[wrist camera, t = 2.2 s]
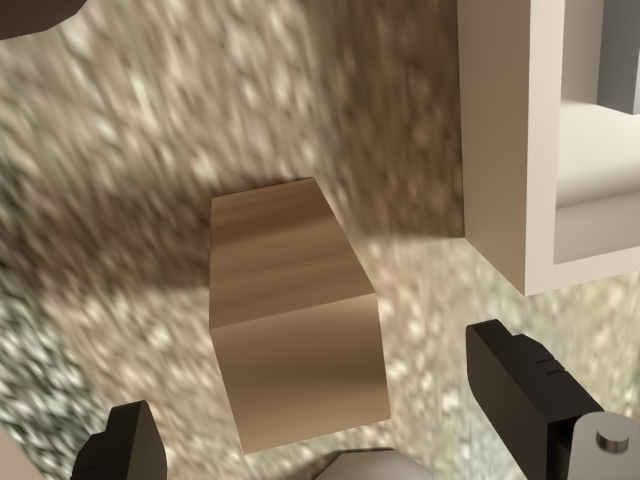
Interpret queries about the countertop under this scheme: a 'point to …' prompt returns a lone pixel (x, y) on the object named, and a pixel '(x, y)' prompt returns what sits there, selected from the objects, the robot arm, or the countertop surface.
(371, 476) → the flask
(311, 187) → the plug
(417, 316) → the countertop surface
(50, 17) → the bottle
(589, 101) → the box
